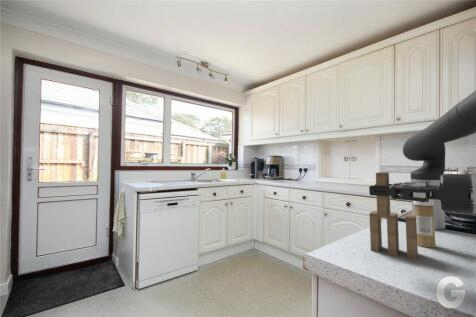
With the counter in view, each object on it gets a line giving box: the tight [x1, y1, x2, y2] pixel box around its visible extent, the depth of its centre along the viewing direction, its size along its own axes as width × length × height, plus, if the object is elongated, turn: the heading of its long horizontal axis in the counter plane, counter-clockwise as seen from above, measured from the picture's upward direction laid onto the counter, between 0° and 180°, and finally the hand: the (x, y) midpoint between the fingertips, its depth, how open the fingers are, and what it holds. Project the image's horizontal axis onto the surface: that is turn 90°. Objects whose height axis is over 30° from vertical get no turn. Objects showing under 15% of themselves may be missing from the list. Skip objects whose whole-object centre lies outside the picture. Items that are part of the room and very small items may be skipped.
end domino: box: [369, 210, 383, 253], centre depth 64 cm, size 5×2×10 cm, turn 139°
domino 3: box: [405, 213, 419, 260], centre depth 59 cm, size 5×2×10 cm, turn 139°
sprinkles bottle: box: [414, 199, 437, 248], centre depth 66 cm, size 5×5×14 cm
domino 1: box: [375, 171, 391, 219], centre depth 54 cm, size 5×2×10 cm, turn 139°
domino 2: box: [386, 211, 400, 257], centre depth 62 cm, size 5×2×10 cm, turn 139°
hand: (372, 189), depth 55 cm, fingers closed on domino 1, 5 cm apart
